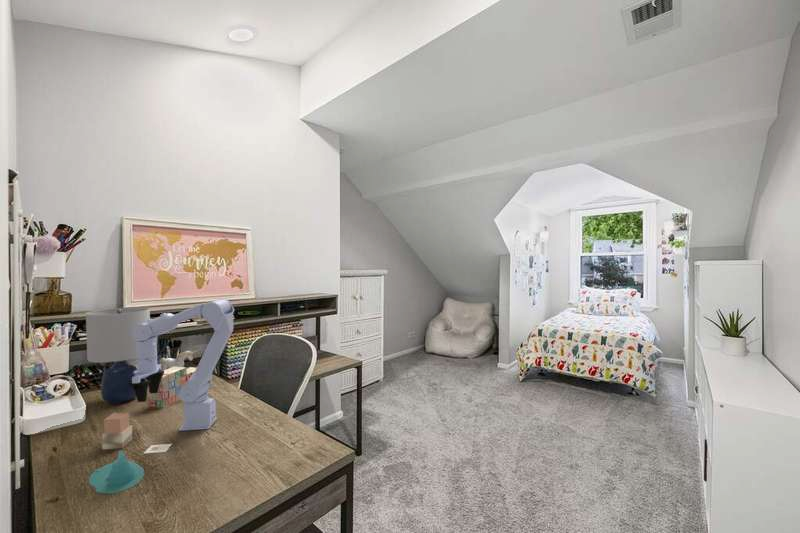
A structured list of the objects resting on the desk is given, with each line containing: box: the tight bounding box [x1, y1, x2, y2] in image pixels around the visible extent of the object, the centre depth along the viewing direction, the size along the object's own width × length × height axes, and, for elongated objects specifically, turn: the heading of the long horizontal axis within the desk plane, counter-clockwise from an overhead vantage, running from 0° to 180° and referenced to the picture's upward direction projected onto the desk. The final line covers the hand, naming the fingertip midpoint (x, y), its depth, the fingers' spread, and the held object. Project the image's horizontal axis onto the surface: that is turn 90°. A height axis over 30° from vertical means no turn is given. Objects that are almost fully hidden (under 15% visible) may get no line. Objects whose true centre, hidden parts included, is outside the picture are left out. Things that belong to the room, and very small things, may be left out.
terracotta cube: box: [103, 411, 130, 434], centre depth 114 cm, size 4×4×4 cm
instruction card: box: [142, 443, 173, 455], centre depth 111 cm, size 6×4×1 cm
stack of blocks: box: [148, 366, 197, 409], centre depth 152 cm, size 21×6×12 cm, turn 169°
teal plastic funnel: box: [88, 450, 145, 494], centre depth 98 cm, size 12×20×9 cm, turn 51°
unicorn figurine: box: [159, 348, 202, 371], centre depth 175 cm, size 7×20×13 cm, turn 91°
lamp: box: [85, 306, 151, 404], centre depth 149 cm, size 20×20×37 cm
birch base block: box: [101, 424, 133, 450], centre depth 114 cm, size 6×6×4 cm
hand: (148, 397), depth 126 cm, fingers open, 7 cm apart
